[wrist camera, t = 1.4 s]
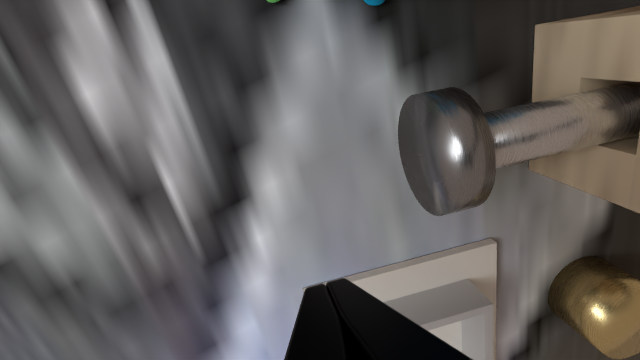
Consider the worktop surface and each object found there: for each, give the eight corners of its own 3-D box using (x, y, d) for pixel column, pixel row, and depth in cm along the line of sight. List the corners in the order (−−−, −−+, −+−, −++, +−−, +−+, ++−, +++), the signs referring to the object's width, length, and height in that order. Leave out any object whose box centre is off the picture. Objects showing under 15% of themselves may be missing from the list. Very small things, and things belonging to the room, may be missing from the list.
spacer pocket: (490, 238, 23) (526, 264, 20) (490, 379, 27) (519, 418, 24) (302, 288, 21) (312, 324, 18) (333, 430, 25) (345, 478, 23)
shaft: (626, 42, 18) (759, 39, 14) (614, 140, 20) (728, 166, 15) (393, 89, 16) (454, 102, 12) (403, 190, 18) (458, 237, 14)
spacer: (613, 248, 26) (676, 281, 22) (604, 306, 27) (662, 345, 24) (549, 266, 25) (604, 303, 21) (545, 324, 27) (595, 368, 23)
